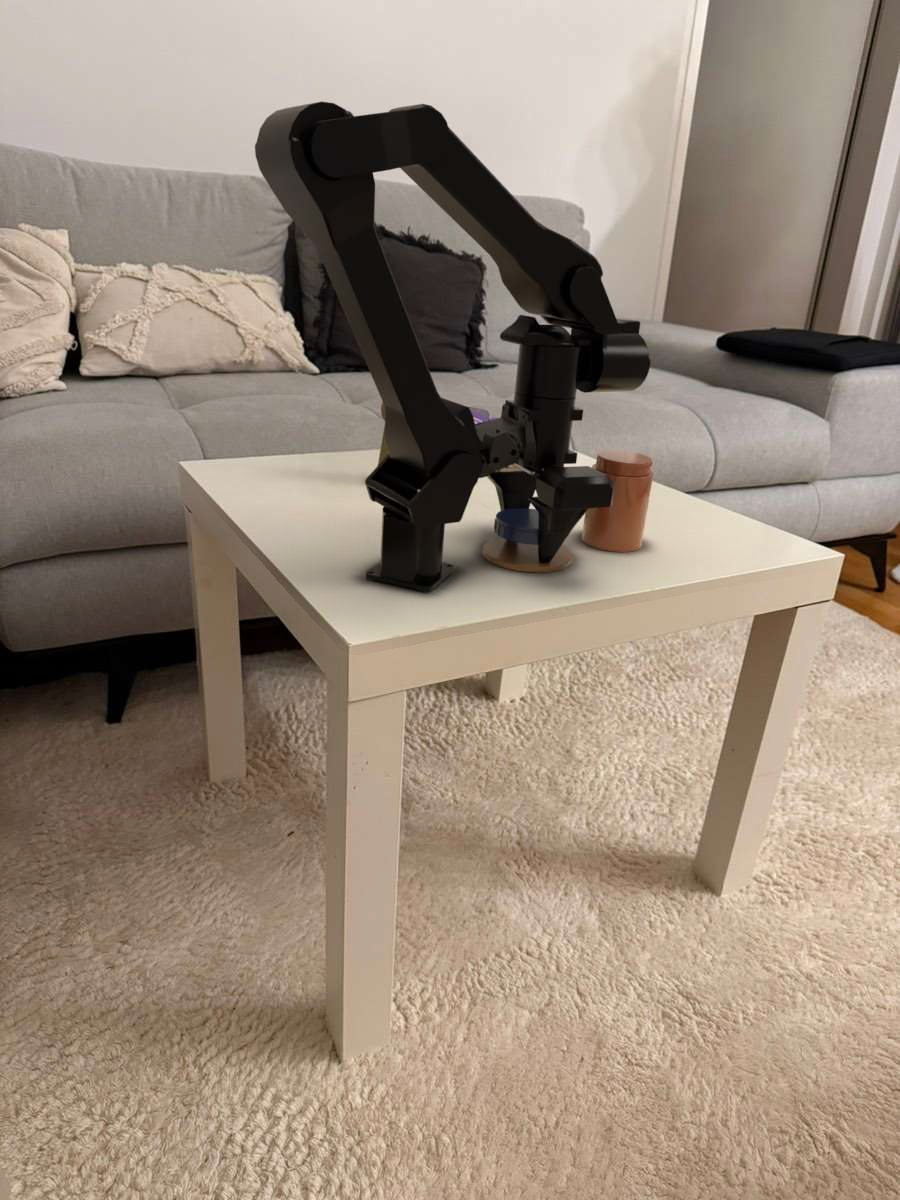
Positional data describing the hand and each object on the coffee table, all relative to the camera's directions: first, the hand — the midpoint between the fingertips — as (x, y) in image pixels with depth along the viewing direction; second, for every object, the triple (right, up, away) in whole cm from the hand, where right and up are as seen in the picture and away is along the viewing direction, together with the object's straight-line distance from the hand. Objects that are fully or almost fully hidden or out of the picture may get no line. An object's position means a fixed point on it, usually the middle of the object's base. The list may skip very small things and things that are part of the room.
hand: (527, 550), depth 86 cm
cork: (-14, +10, +22) cm, 28 cm away
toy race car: (-1, +15, +36) cm, 39 cm away
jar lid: (0, +3, -1) cm, 3 cm away
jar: (+10, +1, +7) cm, 12 cm away
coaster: (0, -1, 0) cm, 1 cm away
